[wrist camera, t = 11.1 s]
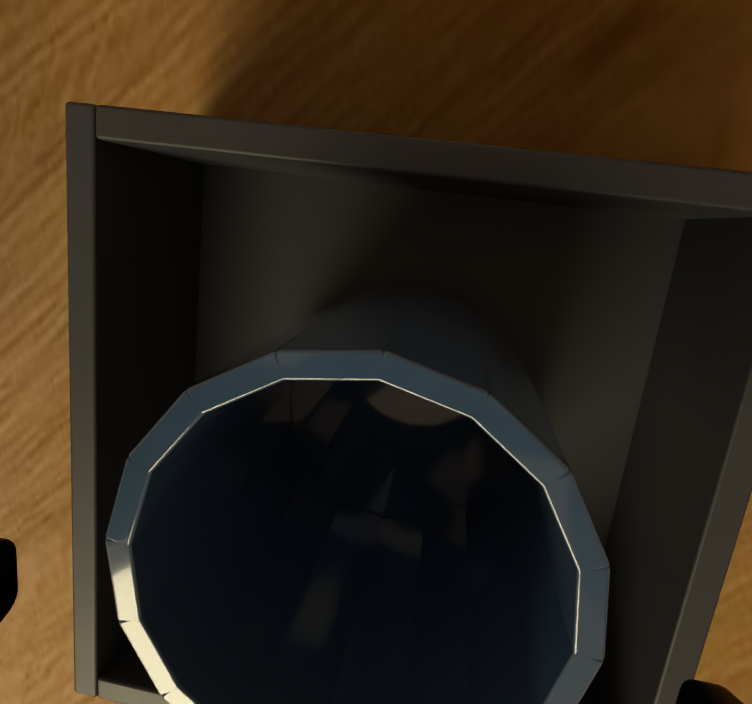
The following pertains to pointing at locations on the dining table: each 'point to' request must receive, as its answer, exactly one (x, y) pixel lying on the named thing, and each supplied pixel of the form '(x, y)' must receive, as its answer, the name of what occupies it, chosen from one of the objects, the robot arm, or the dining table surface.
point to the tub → (441, 271)
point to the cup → (361, 522)
